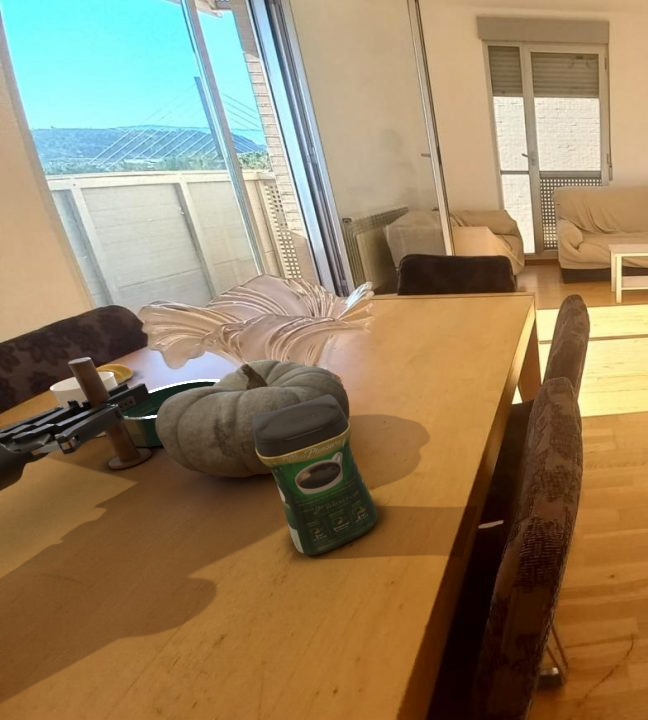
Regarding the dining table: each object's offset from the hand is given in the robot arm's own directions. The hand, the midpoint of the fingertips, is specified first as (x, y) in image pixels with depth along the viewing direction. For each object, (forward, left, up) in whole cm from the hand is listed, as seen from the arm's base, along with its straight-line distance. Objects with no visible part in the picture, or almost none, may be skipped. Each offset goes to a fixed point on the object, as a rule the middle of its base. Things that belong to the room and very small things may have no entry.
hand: (136, 390), depth 79 cm
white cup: (-15, -6, -11) cm, 19 cm away
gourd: (+20, +13, -11) cm, 26 cm away
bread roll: (-44, -5, -11) cm, 46 cm away
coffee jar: (+48, +13, -11) cm, 51 cm away
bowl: (-4, +4, -10) cm, 12 cm away
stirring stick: (+4, -4, -10) cm, 11 cm away
